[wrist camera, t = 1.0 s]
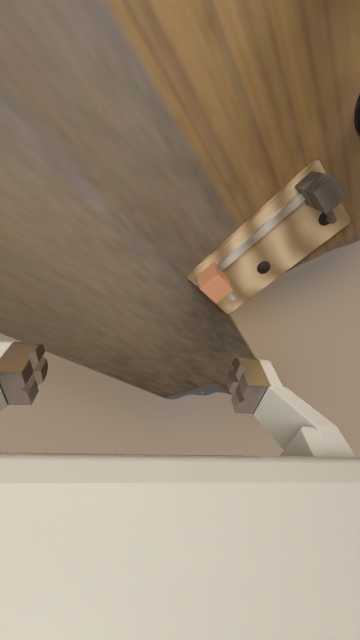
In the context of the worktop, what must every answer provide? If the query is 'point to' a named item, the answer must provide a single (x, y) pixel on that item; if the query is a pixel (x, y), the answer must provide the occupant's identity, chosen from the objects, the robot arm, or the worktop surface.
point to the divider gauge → (279, 234)
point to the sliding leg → (215, 283)
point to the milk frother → (357, 116)
